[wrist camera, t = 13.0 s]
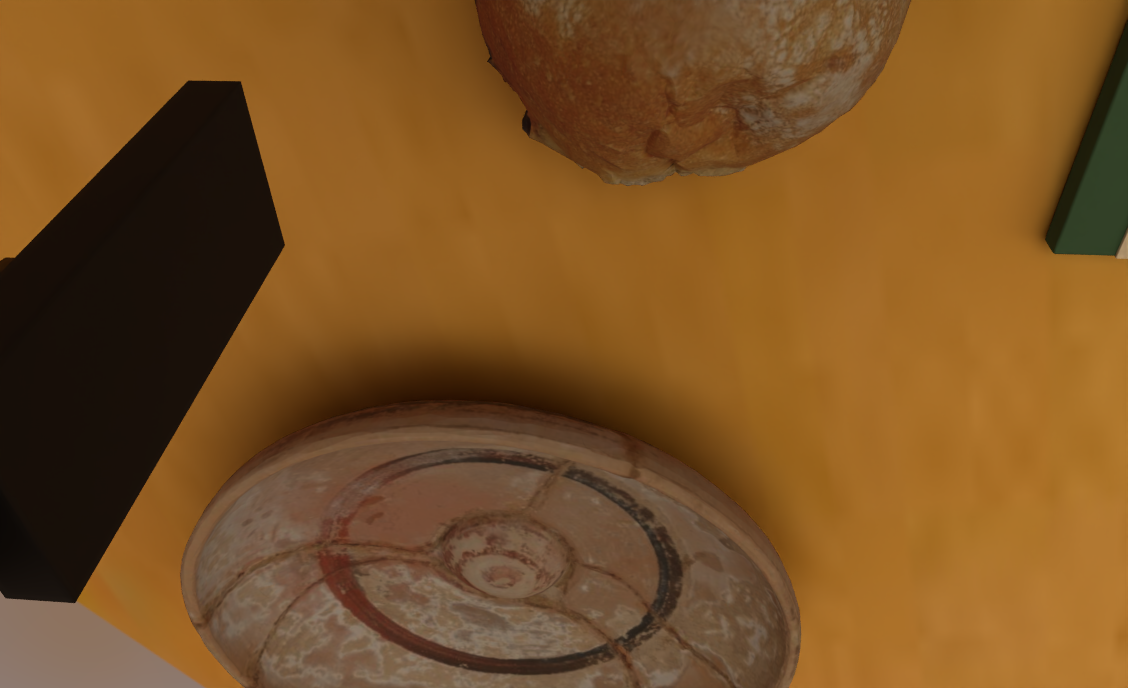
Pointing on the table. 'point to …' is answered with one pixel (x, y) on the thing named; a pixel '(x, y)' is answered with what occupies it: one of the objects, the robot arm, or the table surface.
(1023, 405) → the table surface
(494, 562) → the ceramic bowl
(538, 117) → the bread roll
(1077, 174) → the towel
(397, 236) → the table surface
